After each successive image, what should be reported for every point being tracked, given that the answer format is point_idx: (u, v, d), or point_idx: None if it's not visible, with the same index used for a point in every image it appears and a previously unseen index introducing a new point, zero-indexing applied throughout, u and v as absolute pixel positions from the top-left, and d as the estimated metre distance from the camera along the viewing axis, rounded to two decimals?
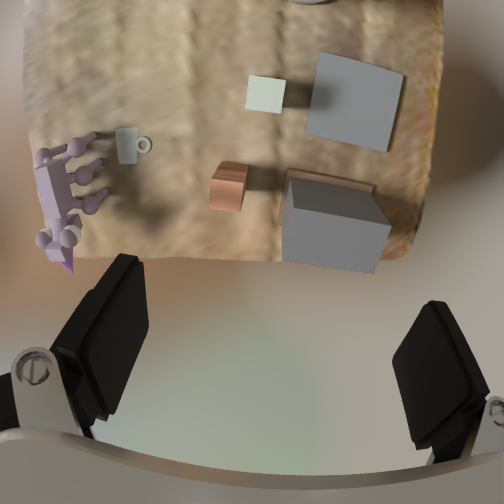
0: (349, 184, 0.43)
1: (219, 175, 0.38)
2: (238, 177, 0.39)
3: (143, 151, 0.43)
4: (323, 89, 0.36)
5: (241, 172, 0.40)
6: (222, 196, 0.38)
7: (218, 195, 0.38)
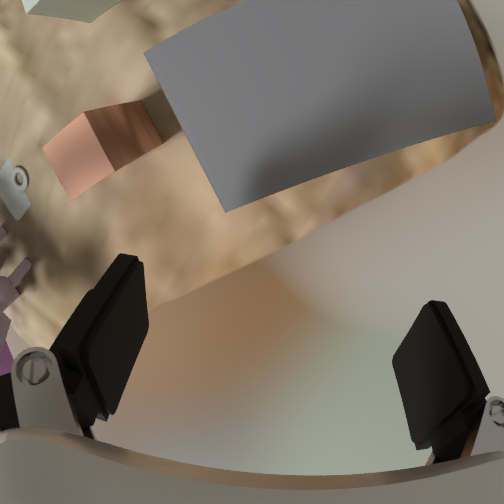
0: None
1: None
2: None
3: (23, 186, 0.25)
4: None
5: None
6: (73, 163, 0.15)
7: (67, 166, 0.16)
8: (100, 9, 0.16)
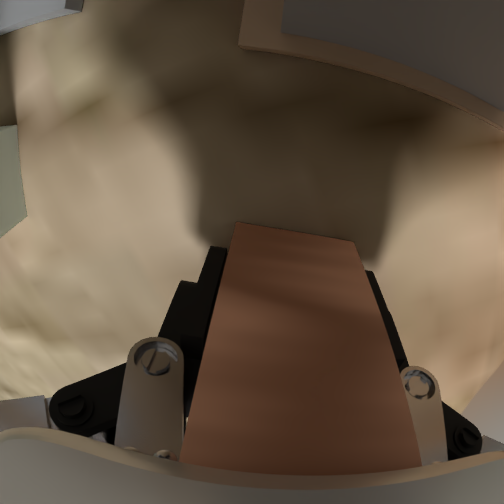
0: None
1: None
2: None
3: None
4: None
5: None
6: None
7: None
8: (7, 187, 0.09)
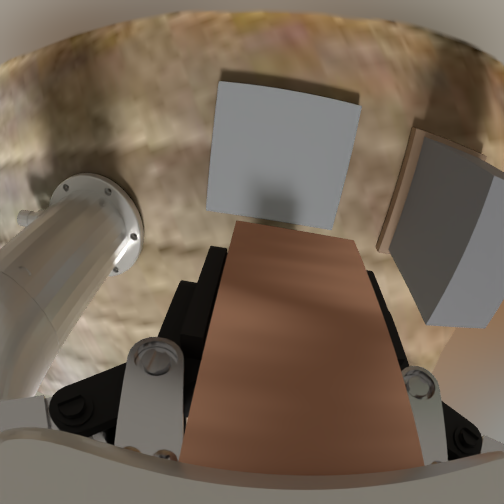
0: (410, 167, 0.25)
1: None
2: None
3: None
4: (263, 205, 0.28)
5: None
6: None
7: None
8: None
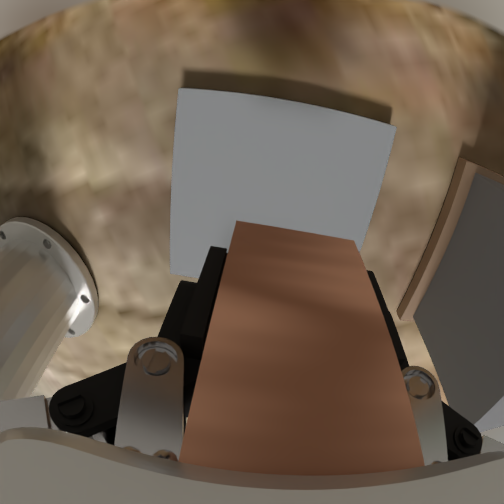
0: (454, 214, 0.17)
1: None
2: None
3: None
4: None
5: None
6: None
7: None
8: None
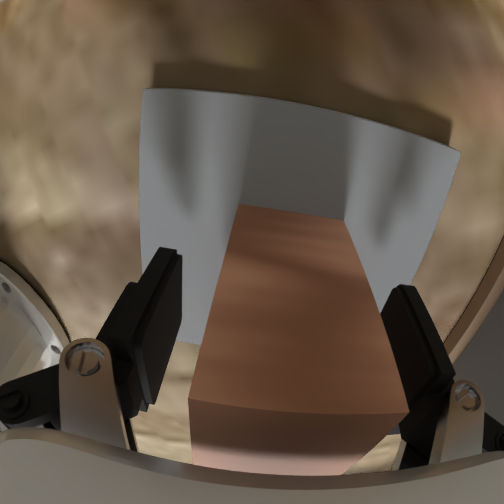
0: None
1: None
2: None
3: None
4: None
5: None
6: (287, 458, 0.06)
7: (278, 465, 0.06)
8: None
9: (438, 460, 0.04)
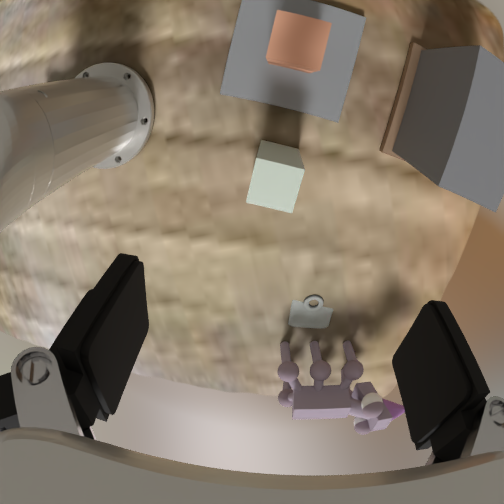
0: (410, 74, 0.24)
1: None
2: None
3: (320, 304, 0.41)
4: (275, 92, 0.27)
5: None
6: (300, 43, 0.18)
7: (297, 50, 0.18)
8: None
9: None
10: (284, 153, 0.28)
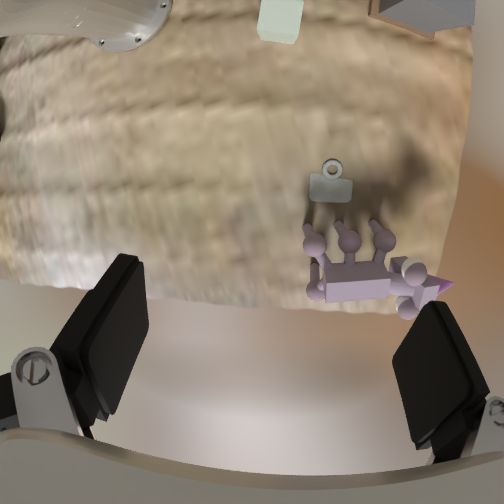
0: None
1: None
2: None
3: (340, 170, 0.39)
4: None
5: None
6: None
7: None
8: None
9: None
10: None
